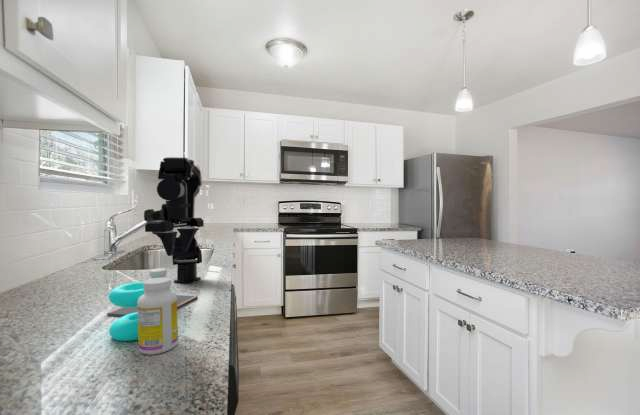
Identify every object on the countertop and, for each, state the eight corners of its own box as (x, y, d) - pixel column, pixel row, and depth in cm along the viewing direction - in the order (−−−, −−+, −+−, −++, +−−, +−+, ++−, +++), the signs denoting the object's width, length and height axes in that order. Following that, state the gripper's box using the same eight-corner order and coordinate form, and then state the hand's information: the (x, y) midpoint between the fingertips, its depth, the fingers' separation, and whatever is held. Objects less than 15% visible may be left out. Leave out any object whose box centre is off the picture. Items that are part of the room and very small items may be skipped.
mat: (154, 295, 90) (154, 293, 90) (197, 298, 88) (197, 296, 88) (107, 315, 75) (107, 312, 75) (157, 319, 72) (157, 316, 72)
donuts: (164, 288, 63) (105, 295, 58) (165, 336, 63) (106, 348, 58) (163, 277, 71) (111, 283, 67) (164, 320, 72) (112, 328, 67)
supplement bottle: (168, 336, 63) (167, 274, 63) (184, 346, 59) (183, 279, 58) (132, 348, 58) (131, 281, 57) (146, 360, 54) (145, 287, 53)
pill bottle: (153, 307, 78) (152, 273, 78) (143, 303, 82) (143, 270, 81) (173, 302, 83) (173, 269, 82) (163, 298, 86) (163, 266, 86)
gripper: (173, 200, 100) (174, 248, 100) (126, 200, 82) (127, 258, 82) (204, 200, 98) (204, 249, 98) (163, 200, 80) (164, 260, 80)
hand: (177, 253), depth 90 cm, fingers open, 6 cm apart
